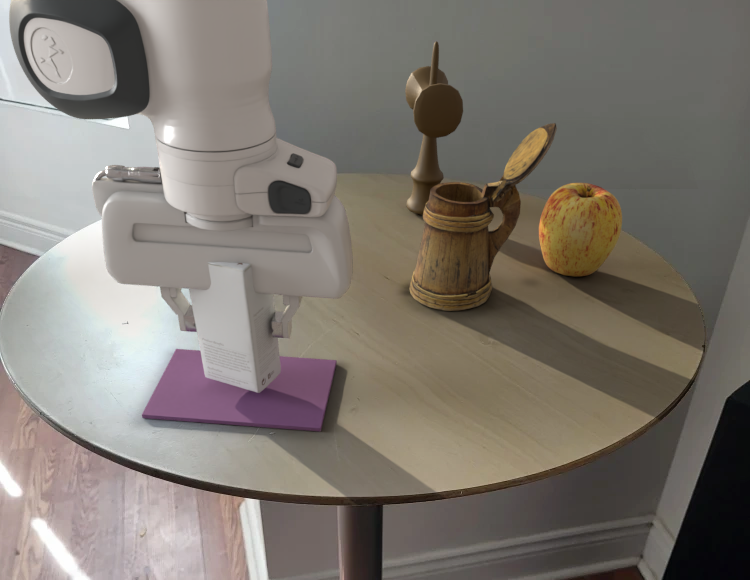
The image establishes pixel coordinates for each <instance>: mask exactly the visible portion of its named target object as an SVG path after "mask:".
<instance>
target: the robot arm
mask: <svg viewBox="0 0 750 580" xmlns="http://www.w3.org/2000/svg"><path fill="white" fill-rule="evenodd" d="M8 12H9V13H8V22H9V25H8V26H9V34H10V39H11V43H12V47H13V51H14V54H15V56H16V59H17V61H18V63H19V66H20V68H21V69H22V72H23V73H24V75H25V77H26V78H27V80H28V81H29V83H30V84H31V86H32V87H33V88H34V89H35V90H36V92H37V93H38V94H39V95H40V96H41V97H42V98H43V99H44V100H45V101H46V102H47V103H48V104H49V105H51V106H52V107H54V108H56V109H57V110H58V111H60V112H61V113H63V114H65V115H67V116H68V117H69V116H70V117H72V118H75V119H79V120H106V119H118V118H120V119H121V118H126V117H130V116H135V115H140V116H144V117H146V118H148V120H149V121H150V122H151V125H152V128H153V133H154V138H155V140H154V141H155V144H156V151H157V157H158V163H159V166H157V167H156V166H125V165H121V164H111V165H107V166H106V167H105V169H104V170H101V171H99V172H97V173H96V174H95V176H94V177H93V179H92V182H91V193H92V196H93V201H94V205H95V209H96V211H97V213H98V214H99V216H100V217H101V238H102V239H101V241H102V250H103V257H104V263H105V269H106V272H107V273H108V275H110V277H111V278H113V280H115V282H116V283H117V284H120V285H129V286H131V285H132V286H145V287H159V290H160V295H161V298H162V300H164V302H165V303H166V304H167V305H168V307H169V308H170V309H171V310H172V311H173V313H174V314H175V315H177V319H178V324H179V330H180V331H181V332H188V333H190V332H191V333H197V330H196V324H195V318H194V313H193V308H192V304H190V303H191V302H189V300H188V299H187V297H186V295H184V293H183V291H182V289H187V290H189V289H202V290H207V289H209V288H210V286H211V279H210V273H209V267H208V263H207V262H228V263H246V264H251V267H252V278H253V287H254V290H255V293H260V294H273V295H276V296H277V295H278V296H282V304H283V305H284V306H286V307H285V309H284V311H276V310H275V313H274V317H273V318H272V321H271V325H272V329H273V332H272V337H274V338H278V339H291V336H292V335H291V334H292V332H293V320H292V319H293V317H294V316H295V315H296V313H297V311H298V310H299V308H300V306H301V302H302V299H303V297H305V298H321V299H333V300H337V299H338V300H339V299H340V298H341V297H343V296H344V295H345V294H346V293H347V292H348V290H349V289H350V287H351V284H352V279H353V272H354V271H353V270H354V269H353V267H354V266H353V263H354V262H353V261H354V260H353V259H354V258H353V245H352V236H351V230H350V223H349V217H348V214H347V211H346V207H345V206H344V204H343V202H342V201H341V199H340V198H339V197H337V195H336V192H337V186H338V185H337V184H338V170H337V165H336V163H335V162H334V161H332V160H331V159H329V158H328V157H325V156H322V155H320V154H317V153H314V152H312V151H309V150H307V149H305V148H302V147H299V146H296V145H294V144H292V143H290V142H287V141H285V140H282V139H281V138H279V137H277V125H276V119H275V117H274V114H273V111H272V108H271V104H270V97H269V96H270V95H269V91H270V90H269V89H270V82H271V75H272V72H273V52H272V39H271V26H270V17H269V7H268V0H10V3H9V11H8Z"/></svg>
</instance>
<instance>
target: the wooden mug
mask: <svg viewBox="0 0 750 580" xmlns="http://www.w3.org/2000/svg"><path fill="white" fill-rule="evenodd" d="M557 129H558V128H557V123H556V122H552V123H547V124H544V125H542V126H539V127H538V128H536V129H534V130H533V131H531V132H529V134H528V135H526V136H525V138H523V139H522V141H520V143H519V144H518V146H517V147H516V148H515V149H514V151H513V153H511V156H510V157H509V159H508V160H507V163H506V165H505V167H504V170H503V174H502V176H501V178H499V180H498V181H495V182H488V183H485V184H484V185H483V188H481V187H479V186H478V185H475V184H472V183H468V182H461V181H450V182H449V181H447V182H441V183H440V184H438V185H436V186H434V187H433V188H432V189H431V191H430V196H429V201H428V202H427V203H426V206H425V209H424V213H423V215H422V219H423V222H424V225H423V231H422V236H421V240H420V246H419V251H418V255H417V260H416V265H415V269H414V270H413V272H412V276H411V280H410V284H409V292H410V295H411V296H412V298H413V299H414V300H415V301H416V302H418V303H420V304H422V305H423V306H426V307H429V308H432V309H435V310H438V311H447V312H451V311H454V312H456V311H464V310H469V309H473V308H477V307H479V306H481V305H482V304H484V303H486V302H487V300H488V299H489V298H490V296H491V292H492V289H493V282H492V276H491V274H490V273H491V270H492V267H493V263H494V260H495V257H496V256H497V255H498V253H499V251H500V249H501V248H502V247H503V245H504V244H505V243H506V241H507V240H508V239H509V238H510V235H511V234H512V233H513V231H514V229H515V227H516V226H517V223H518V220H519V217H520V215H521V203H522V201H521V196H520V192H519V190H518V188H517V185H518V184H520V183H521V182H522V181H524V180H525V179H527V178H528V176H529V175H530V174H531V173H532V172H533V171H534V170H535V169H536V168H537V167H538V166H539V165H540V163H541V162H542V161H543V159H544V158H545V156H546V155H547V153H548V151H549V150H550V148H551V146H552V144H553V142H554V139H555V136H556V134H557V133H556V132H557ZM491 208H498V209H499V210H500V211H501V213H502V221H501V222H500V224H499V225H498V227H497V228H495V229H493V230H490V231H489V225H490V224H491V223H492V222H493V220H494V217H495V214H494V211H492V210H491Z"/></svg>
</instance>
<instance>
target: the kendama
mask: <svg viewBox="0 0 750 580" xmlns="http://www.w3.org/2000/svg"><path fill="white" fill-rule="evenodd" d="M439 61H440V46H439V42H438V41H435V42H433V46H432V54H431V63H430V65H426V66H421V67H418V68H417V69H415V70H413V71H412V72H411V73H410V74H409V77H408V78H407V81H406V84H405V88H404V89H405V91H404V92H405V101H406V103H407V105H408V106H409V108H410V109H411V110H412V113H413V122H414V124H415V127H416V128H417V130H418V132H420V133H421V134H422V140H421V146H420V149H419V154H418V159H417V161H416V165H415V167H414V168H413V169H412V170H411V171H410V178H411V180H412V182H413V185H412V191H411V195H410V197H409V198H408V199H407V200H406V208H407V209H408V210H409V212H410V213H411V212H412V213H413V214H417V215H422V216H423V213H424V209H425V206H426V203H427V202H428V201H429V196H430V191H431V189H432V188H433V187H434V186H436V185H438V184H441V183H442V181H443V180H444V173H443V172H442V170H441V168H440V164H439V157H438V139H439V138H445V137H447V136H449V135H451V134H453V133H454V132H455V131H456V130H457V129H458V127H459V125H460V124H461V122H462V118H463V114H464V103H463V98H462V96H461V94H460V91H459V90H458V89H457V88H455V87H454V86H452V85H451V84H449V80H448V78H447V75H446V74H445V72H444V71H443V70H441V69H440V68H439V65H440V62H439Z"/></svg>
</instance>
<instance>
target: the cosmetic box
mask: <svg viewBox="0 0 750 580" xmlns="http://www.w3.org/2000/svg"><path fill="white" fill-rule="evenodd" d="M207 263H208V267H209V273H210V279H211V286H210V288H209V289H207V290H202V289H188V292H189V296H190V303H191V305H192V308H193V313H194V318H195V324H196V330H197V332H196V334H197V341H198V345H199V350H200V351H201V357H202V362H203V368H204V374H205V377H206V378H209V379H213V380H216V381H220V382H223V383H226V384H230V385H233V386H237V387H240V388H243V389H247V390H250V391H254V392H257V393H260V392H261V391H262V390H264V389H265V388H266V387H267V386H268V385H269V384H270V383H271V382H272V381H273V380H274V379H275V378H276V377H277V376H278V375H279V374H280V372H281V365H280V356H281V355H280V347H279V338H274V337H272V332H273V329H272V325H271V321H272V318H273V317H274V313H275V311H276V307H275V297H274V295H275V294H260V293H255V290H254V287H253V278H252V267H251V264H246V263H228V262H207Z"/></svg>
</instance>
